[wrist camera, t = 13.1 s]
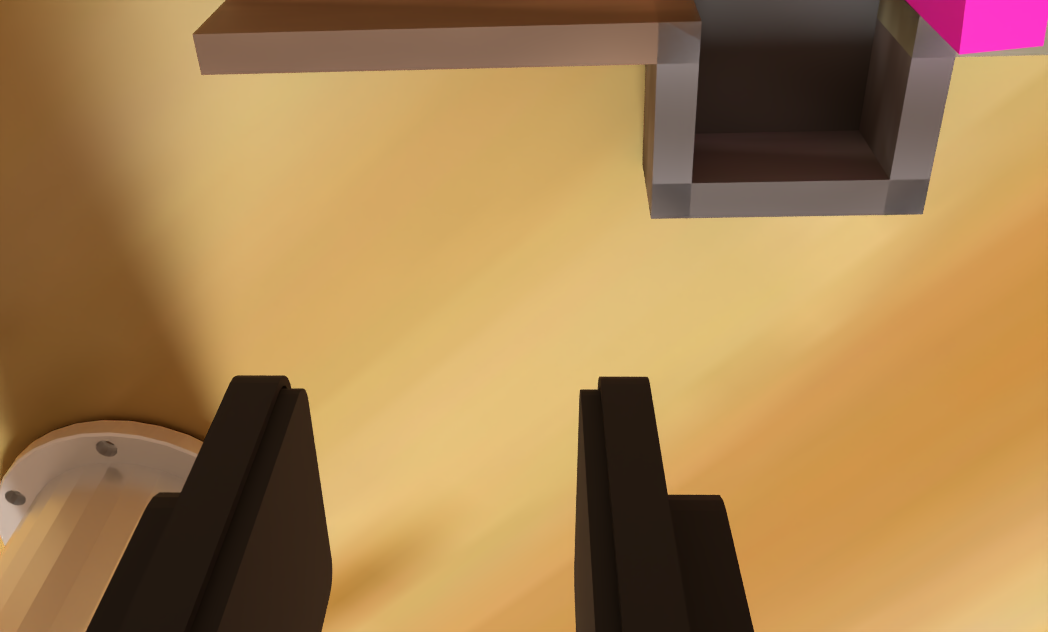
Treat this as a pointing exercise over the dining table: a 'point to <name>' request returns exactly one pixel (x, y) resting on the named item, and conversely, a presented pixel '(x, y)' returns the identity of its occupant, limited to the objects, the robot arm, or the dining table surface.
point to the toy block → (986, 23)
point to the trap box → (671, 83)
